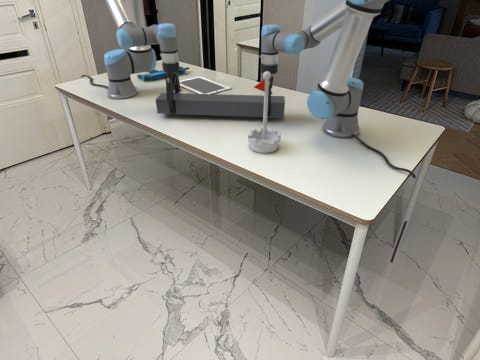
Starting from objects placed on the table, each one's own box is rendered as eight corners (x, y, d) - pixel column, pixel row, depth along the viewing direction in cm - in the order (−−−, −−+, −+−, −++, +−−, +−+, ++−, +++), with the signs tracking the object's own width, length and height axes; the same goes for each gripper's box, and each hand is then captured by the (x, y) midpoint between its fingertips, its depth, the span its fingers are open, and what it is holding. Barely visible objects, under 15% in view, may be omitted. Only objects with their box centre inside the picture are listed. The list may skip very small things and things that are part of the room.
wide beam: (283, 109, 164) (284, 96, 160) (283, 117, 156) (284, 103, 152) (163, 106, 169) (161, 92, 165) (157, 113, 161) (155, 99, 157)
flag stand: (271, 137, 144) (275, 65, 128) (285, 150, 134) (292, 74, 118) (243, 142, 140) (243, 68, 124) (255, 156, 130) (257, 78, 114)
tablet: (173, 83, 208) (173, 82, 207) (200, 76, 219) (200, 76, 218) (203, 96, 187) (203, 95, 187) (231, 88, 198) (231, 87, 198)
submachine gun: (174, 61, 240) (194, 66, 223) (175, 66, 242) (194, 72, 225) (128, 70, 221) (146, 76, 205) (130, 76, 223) (147, 82, 207)
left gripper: (168, 55, 161) (173, 100, 173) (154, 68, 143) (161, 118, 155) (184, 55, 160) (188, 101, 173) (172, 69, 142) (177, 118, 154)
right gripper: (261, 57, 158) (260, 103, 170) (260, 70, 139) (258, 121, 151) (277, 57, 157) (275, 104, 169) (278, 70, 139) (275, 121, 151)
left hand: (175, 109), depth 164 cm, fingers closed on wide beam, 10 cm apart
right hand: (267, 112), depth 160 cm, fingers closed on wide beam, 10 cm apart
